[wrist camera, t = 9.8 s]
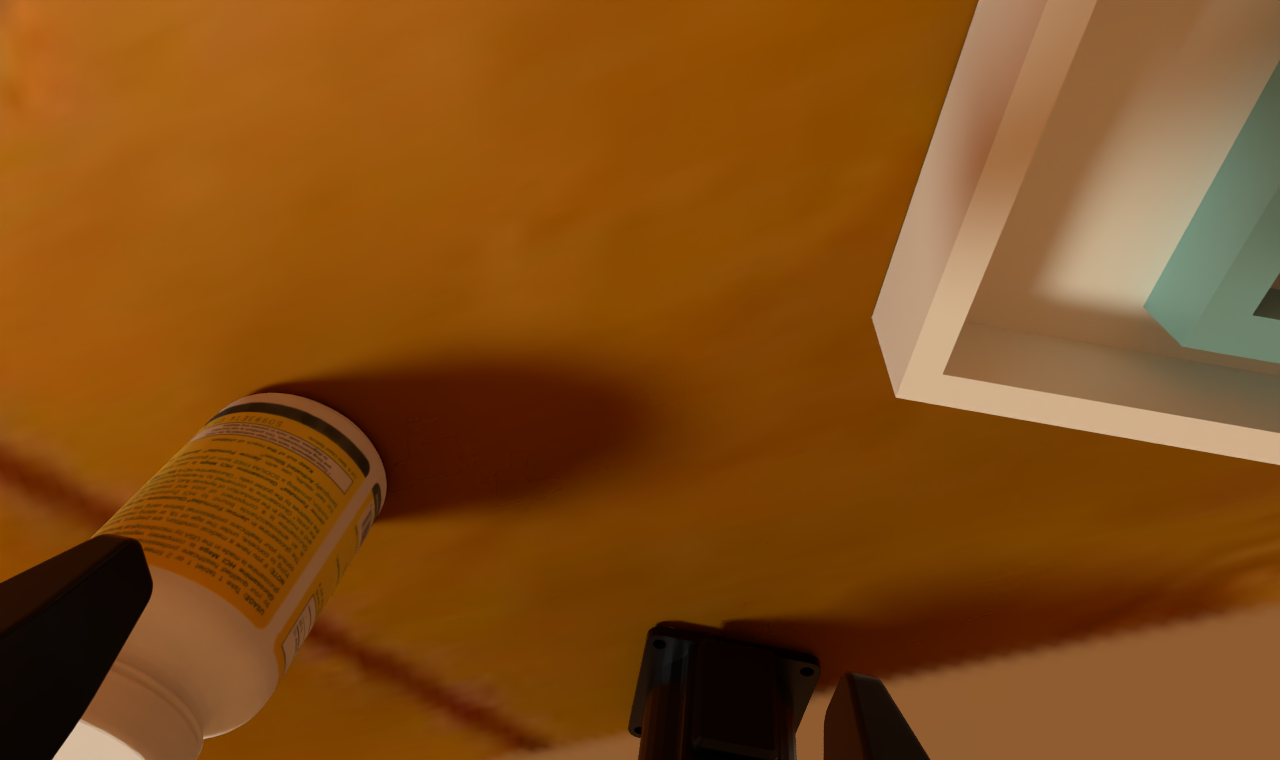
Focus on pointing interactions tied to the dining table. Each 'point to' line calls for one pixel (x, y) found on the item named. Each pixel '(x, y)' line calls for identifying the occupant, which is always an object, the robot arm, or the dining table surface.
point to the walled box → (1101, 225)
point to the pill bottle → (231, 573)
